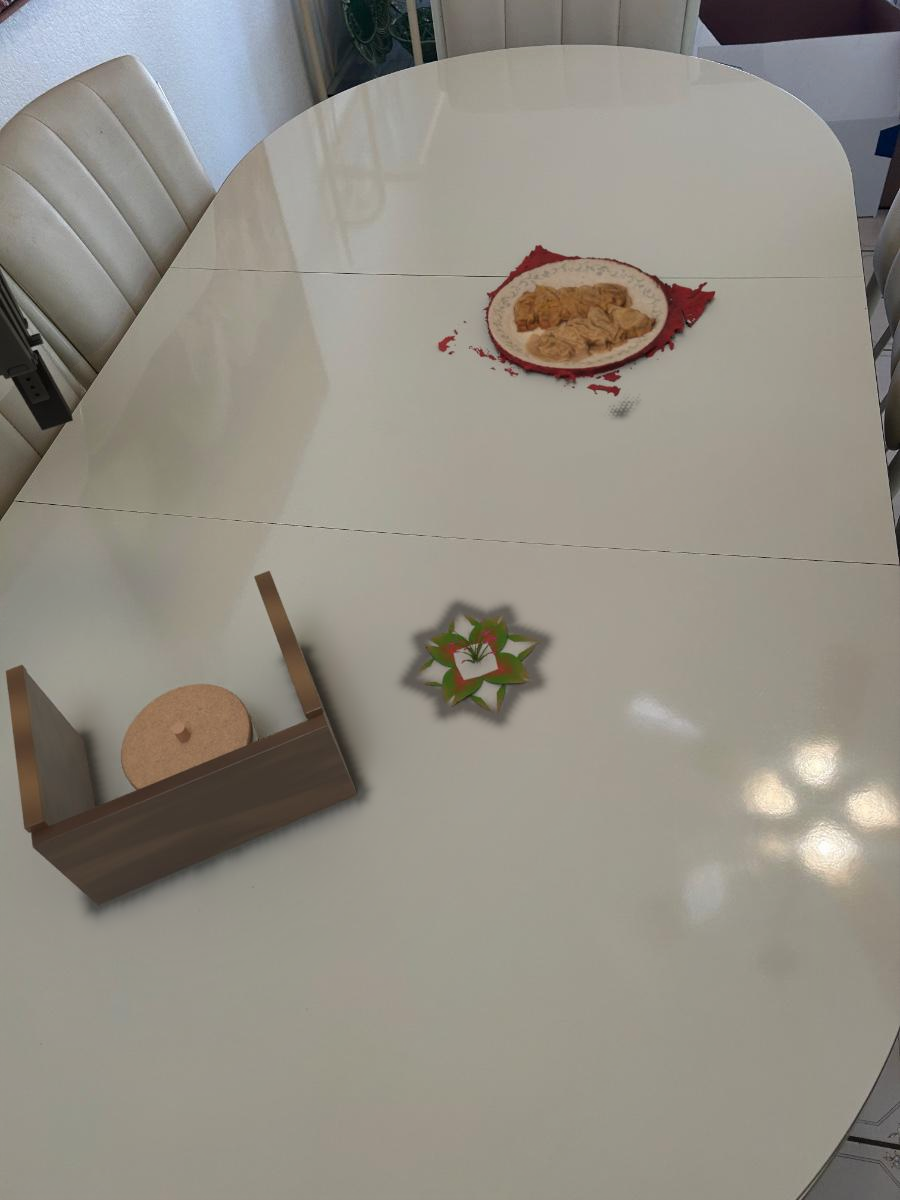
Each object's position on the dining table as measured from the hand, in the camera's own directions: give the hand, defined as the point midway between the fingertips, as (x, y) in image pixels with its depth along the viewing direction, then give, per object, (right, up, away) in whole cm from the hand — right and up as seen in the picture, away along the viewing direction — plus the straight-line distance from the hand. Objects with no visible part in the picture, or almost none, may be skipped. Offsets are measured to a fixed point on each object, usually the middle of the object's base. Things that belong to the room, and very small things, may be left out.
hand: (56, 420), depth 81 cm
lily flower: (+37, -22, +5) cm, 43 cm away
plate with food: (+50, +18, +35) cm, 63 cm away
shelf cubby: (+13, -30, +2) cm, 33 cm away
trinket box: (+14, -32, +1) cm, 35 cm away
